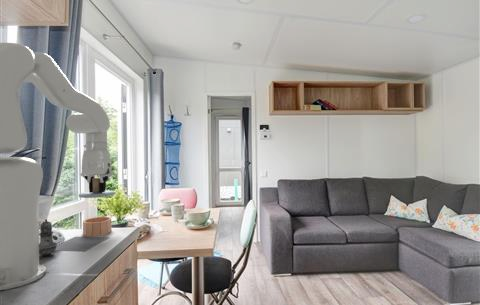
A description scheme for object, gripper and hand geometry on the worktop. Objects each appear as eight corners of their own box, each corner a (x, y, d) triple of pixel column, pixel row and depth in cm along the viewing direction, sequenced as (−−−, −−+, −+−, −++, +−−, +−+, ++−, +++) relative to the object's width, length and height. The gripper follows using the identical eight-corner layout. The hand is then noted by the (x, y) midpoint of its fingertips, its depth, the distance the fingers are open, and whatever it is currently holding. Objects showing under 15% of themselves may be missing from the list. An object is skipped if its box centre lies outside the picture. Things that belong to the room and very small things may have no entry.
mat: (85, 252, 86) (84, 251, 86) (45, 251, 88) (45, 250, 88) (110, 238, 100) (110, 237, 100) (75, 237, 101) (75, 236, 101)
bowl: (101, 237, 102) (101, 223, 101) (77, 237, 102) (77, 222, 102) (116, 229, 111) (116, 216, 111) (93, 229, 112) (93, 216, 112)
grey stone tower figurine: (29, 259, 81) (29, 220, 81) (48, 252, 87) (48, 216, 87) (44, 261, 80) (43, 221, 79) (62, 254, 85) (61, 217, 85)
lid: (102, 198, 100) (102, 180, 100) (70, 197, 101) (70, 179, 101) (121, 192, 113) (121, 176, 113) (92, 192, 114) (92, 176, 114)
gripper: (70, 147, 104) (71, 193, 104) (110, 146, 102) (111, 193, 103) (83, 147, 111) (84, 190, 112) (121, 146, 110) (121, 190, 110)
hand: (97, 191), depth 107 cm, fingers closed on lid, 3 cm apart
